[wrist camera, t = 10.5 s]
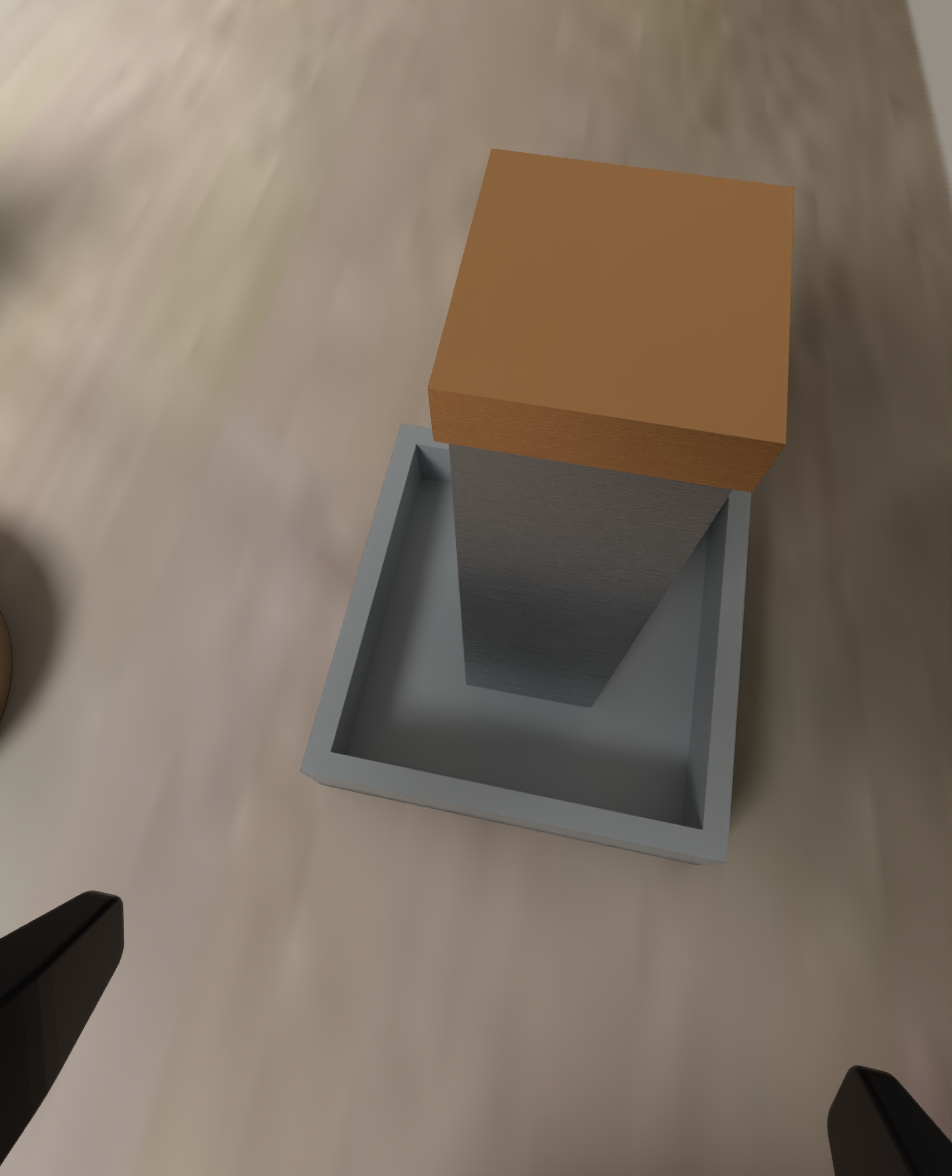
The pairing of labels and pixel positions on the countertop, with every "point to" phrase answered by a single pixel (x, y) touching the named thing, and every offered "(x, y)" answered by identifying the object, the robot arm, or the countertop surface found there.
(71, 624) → the countertop surface
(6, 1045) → the robot arm
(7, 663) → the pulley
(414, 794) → the tray
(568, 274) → the pin
